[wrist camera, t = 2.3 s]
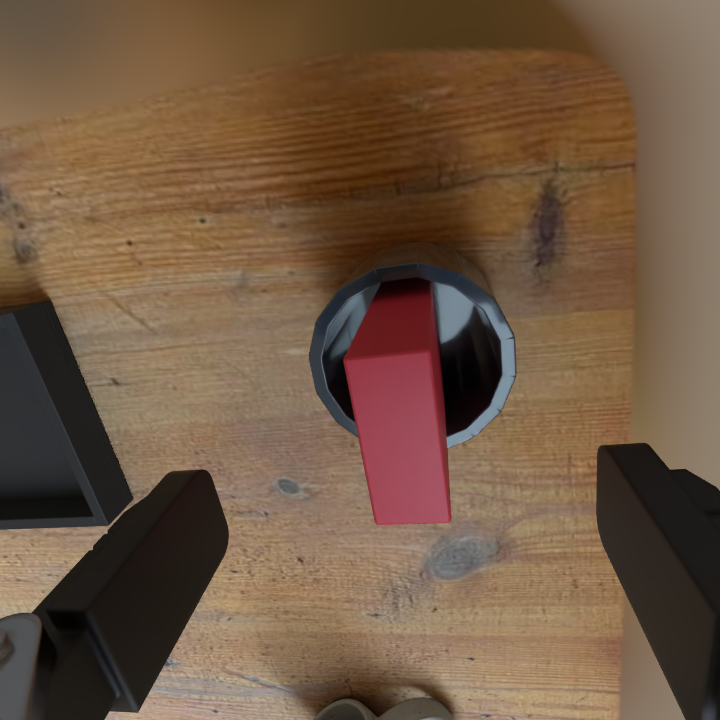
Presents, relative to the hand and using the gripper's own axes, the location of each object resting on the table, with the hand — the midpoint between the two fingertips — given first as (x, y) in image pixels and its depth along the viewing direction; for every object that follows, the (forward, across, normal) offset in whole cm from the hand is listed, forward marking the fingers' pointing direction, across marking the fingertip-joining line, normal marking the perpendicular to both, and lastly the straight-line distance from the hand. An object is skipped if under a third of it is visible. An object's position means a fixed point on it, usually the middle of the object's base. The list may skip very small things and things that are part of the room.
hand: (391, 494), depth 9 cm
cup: (+12, 0, 0) cm, 12 cm away
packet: (+12, 0, 0) cm, 12 cm away
